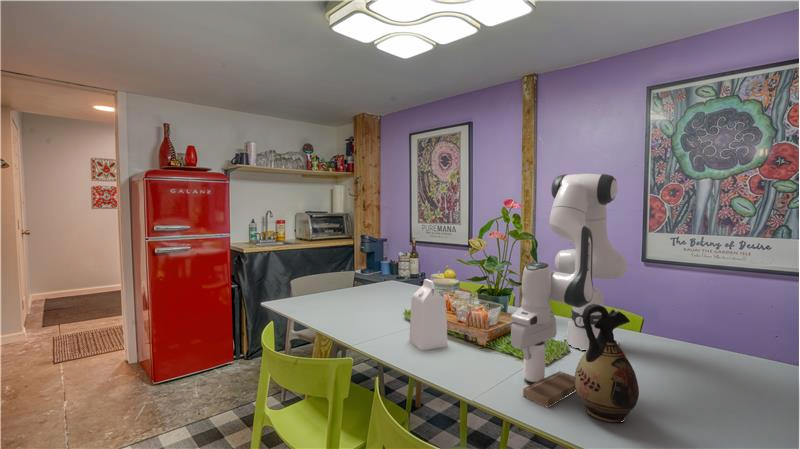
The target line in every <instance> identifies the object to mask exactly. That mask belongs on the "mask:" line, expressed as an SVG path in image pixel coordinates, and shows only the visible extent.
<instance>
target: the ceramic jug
mask: <svg viewBox="0 0 800 449" xmlns="http://www.w3.org/2000/svg"><path fill="white" fill-rule="evenodd" d="M595 312H599V313H601V317H600V318H599V319H598V321H597V322H596V324H595V326H594V327H595V328H597V329H600V332H599V334H598V337H597V338H595V335H594V333H593V329H592V326H591V322H590V315H591V314H592V313H595ZM583 323H584V326H585V330H586V333H587V337H588V339H589V348H588V349H587V350H586V351H584V352H583V354H582V356H581V357H580V359H579V362H578V363H577V366H576V369H575V374H574V377H575V389H576V392H575V393H576V394H577V396H578V398H579V399H580V401H581V402H582V404H583V405H584V406H585V409H586V410H587V411H586V413H587V412H588V413H589V414H588V413H587V414H588V415H590V414H591V415H590V416H592V417H594V418H596V419H598V420H601V421H603V420H604V422H606V421H608V422H607V423H612V422H621V421H623V420H624V418H625V419H626V416H628V414H630V413H631V411H633V410H634V408H635V407H636V405H637V403H638V400H639V396H640V388H639V383H638V378H637V375H636V372H635V370H634V368H633V365H632V363H631V362H630V361H629V359H628V357H627V356H626V354H625V352H624V351H623V350H622V348H621V347H620V345H618V344H617V343H616V341H615V340H616V339H615V335H614V329H616V328H619V327H620V326H623V325H626V324H628V323H630V319H629V318H628V317H627V316H626V315H625V314H624V313H622V312H621V311H620V310H618V311H616V310H615V309H611V310H610V312H609V311H608V310H607V308H606V307H604V306H601V305H597V304H592V305H589V306H587V307H586V308H585V309H584V311H583ZM614 339H615V340H614Z"/></svg>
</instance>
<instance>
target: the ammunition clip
mask: <svg viewBox="0 0 800 449" xmlns="http://www.w3.org/2000/svg"><path fill="white" fill-rule="evenodd" d="M464 326H467V327H473V328H478V329H480V328H481V329H485V330H489V331H490V319H489V317H488V316H487V317H486V319H485V315H484V316H482V318H481V316H480V314H478V317H477V314H474V316H473V313H470V316H469V313H468V312H466V315H465V324H464ZM463 336H464V338H463V341H466V342H465V343H468V342H470V344H472V343H476V341H475V339H474V338H472V337H471V336H468V335H466V334H465V333H464V335H463Z"/></svg>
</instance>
